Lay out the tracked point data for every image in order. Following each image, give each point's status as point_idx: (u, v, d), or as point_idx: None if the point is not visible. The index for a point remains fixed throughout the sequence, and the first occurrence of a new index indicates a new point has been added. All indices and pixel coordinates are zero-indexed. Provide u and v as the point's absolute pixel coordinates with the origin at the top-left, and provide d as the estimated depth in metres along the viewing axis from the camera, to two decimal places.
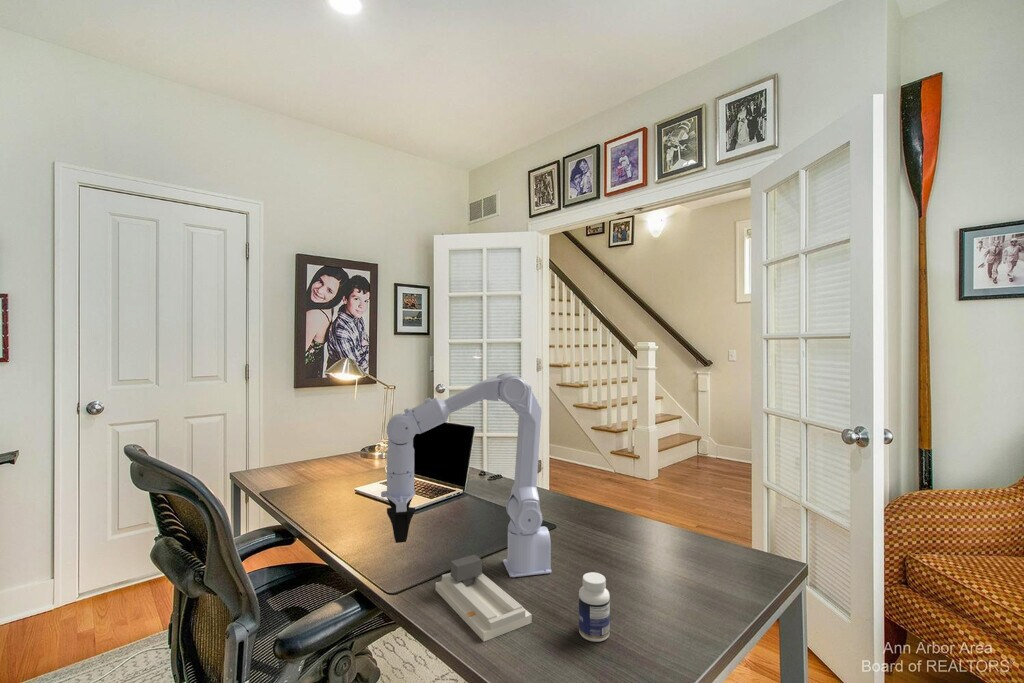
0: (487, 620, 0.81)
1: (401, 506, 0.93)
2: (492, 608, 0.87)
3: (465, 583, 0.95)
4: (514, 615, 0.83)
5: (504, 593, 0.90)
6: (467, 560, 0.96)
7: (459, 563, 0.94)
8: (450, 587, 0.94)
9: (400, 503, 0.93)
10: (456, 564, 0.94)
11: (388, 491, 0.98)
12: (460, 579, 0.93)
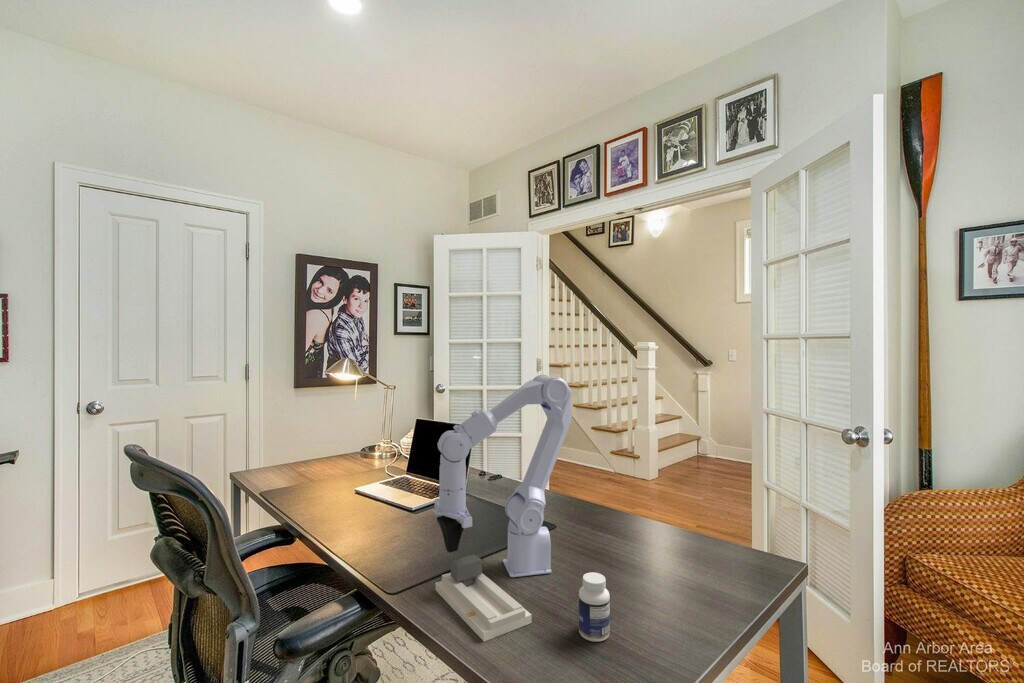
0: (487, 620, 0.81)
1: (468, 522, 0.95)
2: (492, 608, 0.87)
3: (465, 583, 0.95)
4: (514, 615, 0.83)
5: (504, 593, 0.90)
6: (467, 560, 0.96)
7: (459, 563, 0.94)
8: (450, 587, 0.94)
9: (467, 519, 0.95)
10: (456, 564, 0.94)
11: (444, 508, 0.99)
12: (460, 579, 0.93)
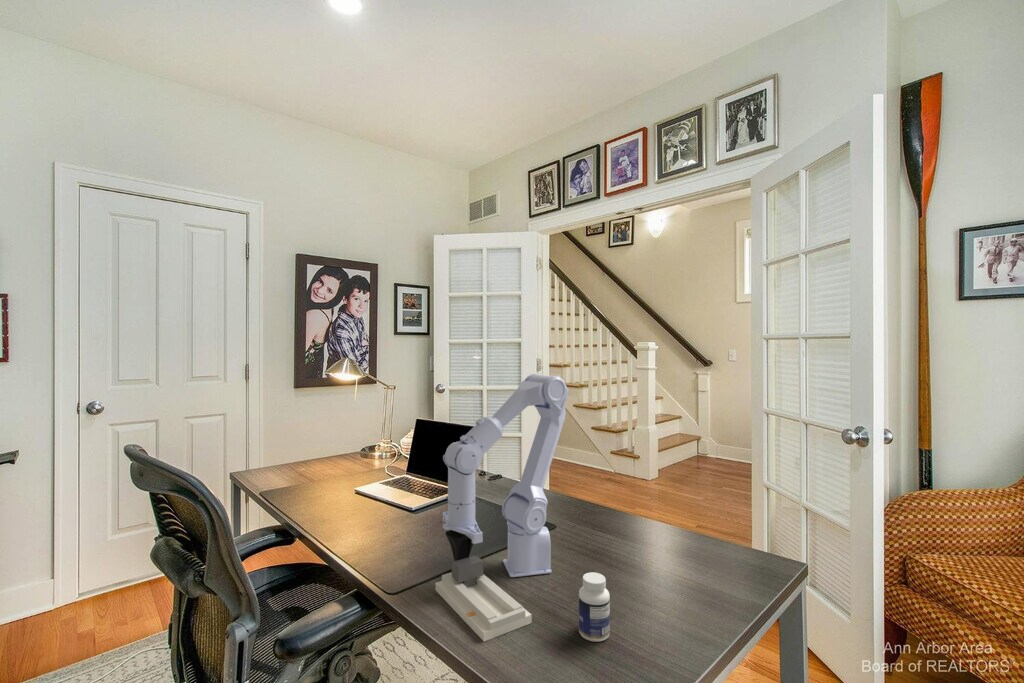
0: (487, 620, 0.81)
1: (478, 537, 0.92)
2: (492, 608, 0.87)
3: (466, 584, 0.94)
4: (514, 615, 0.83)
5: (504, 593, 0.90)
6: (468, 561, 0.95)
7: (460, 564, 0.94)
8: (450, 587, 0.94)
9: (477, 534, 0.92)
10: (457, 565, 0.94)
11: (453, 523, 0.95)
12: (461, 580, 0.93)
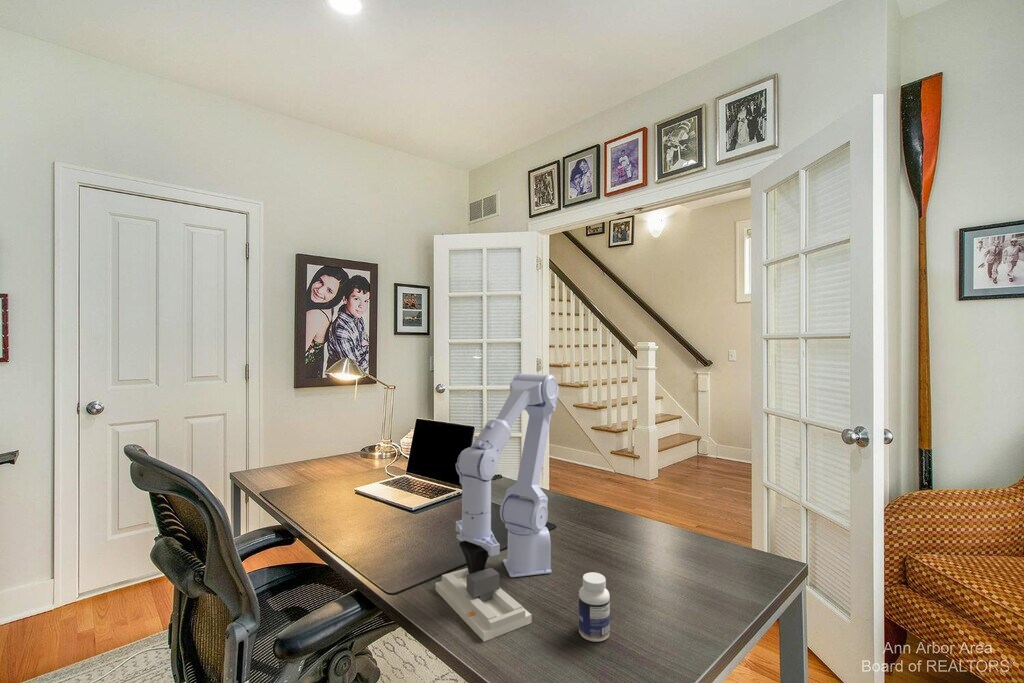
0: (487, 620, 0.81)
1: (495, 549, 0.86)
2: (492, 608, 0.87)
3: (482, 599, 0.89)
4: (514, 615, 0.83)
5: (504, 593, 0.90)
6: (484, 574, 0.90)
7: (476, 577, 0.89)
8: (450, 587, 0.94)
9: (494, 546, 0.86)
10: (472, 578, 0.88)
11: (468, 534, 0.90)
12: (477, 594, 0.88)
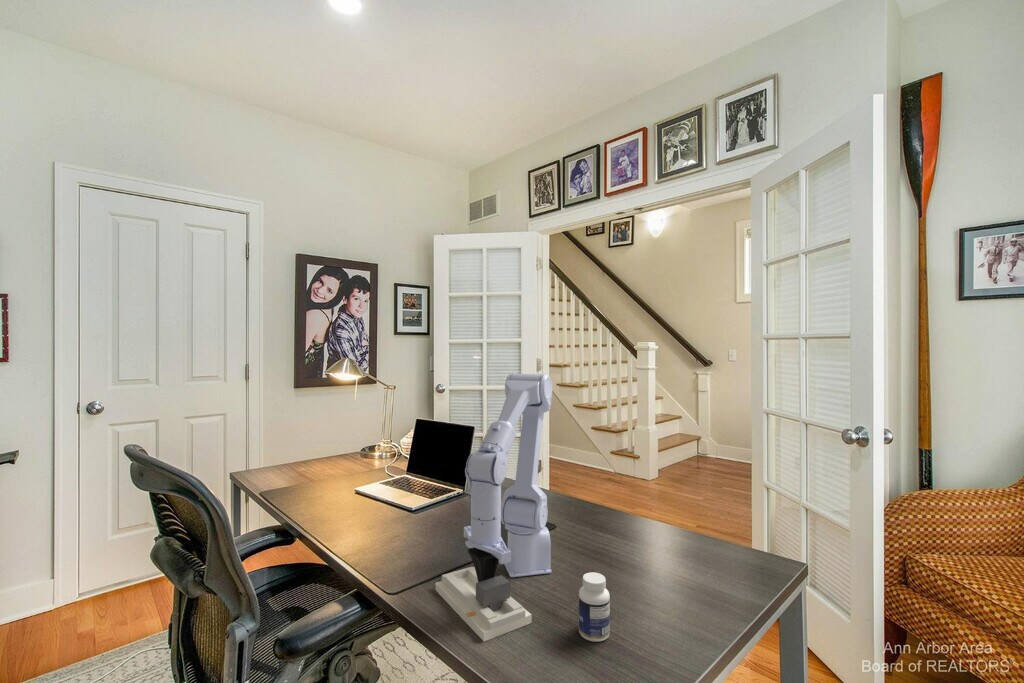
0: (487, 620, 0.81)
1: (506, 557, 0.83)
2: None
3: (492, 608, 0.86)
4: (514, 615, 0.83)
5: None
6: (494, 583, 0.87)
7: (485, 586, 0.86)
8: (450, 587, 0.94)
9: (505, 553, 0.83)
10: (482, 587, 0.85)
11: (477, 540, 0.87)
12: (487, 604, 0.85)
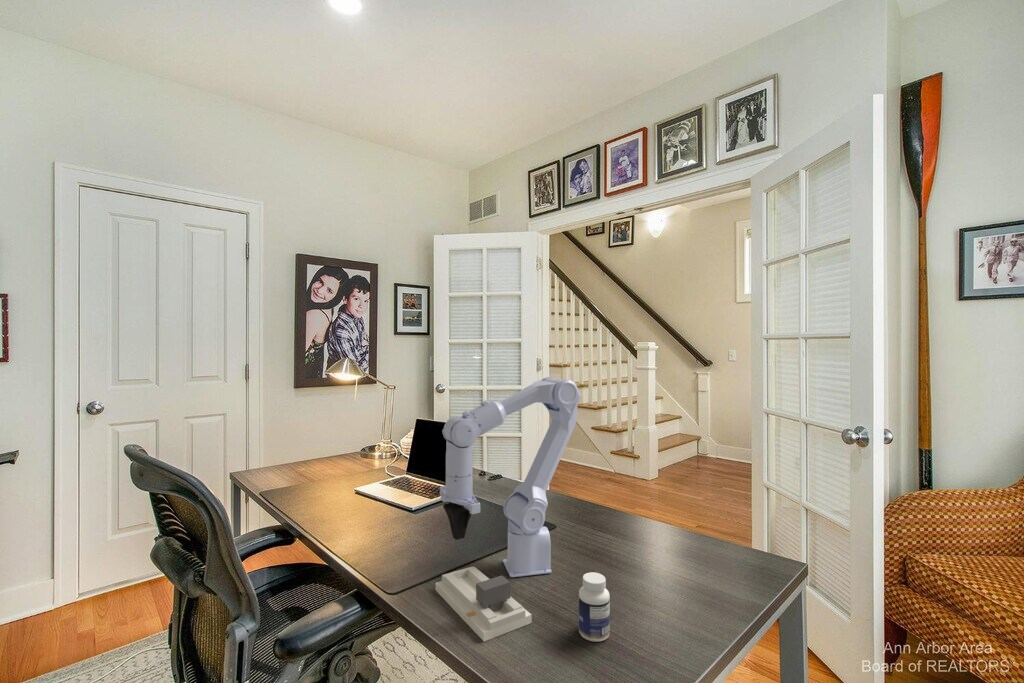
0: (487, 620, 0.81)
1: (476, 508, 0.94)
2: None
3: (492, 608, 0.86)
4: (514, 615, 0.83)
5: None
6: (494, 583, 0.87)
7: (486, 586, 0.85)
8: (450, 587, 0.94)
9: (475, 505, 0.94)
10: (482, 587, 0.85)
11: (451, 495, 0.97)
12: (487, 604, 0.84)
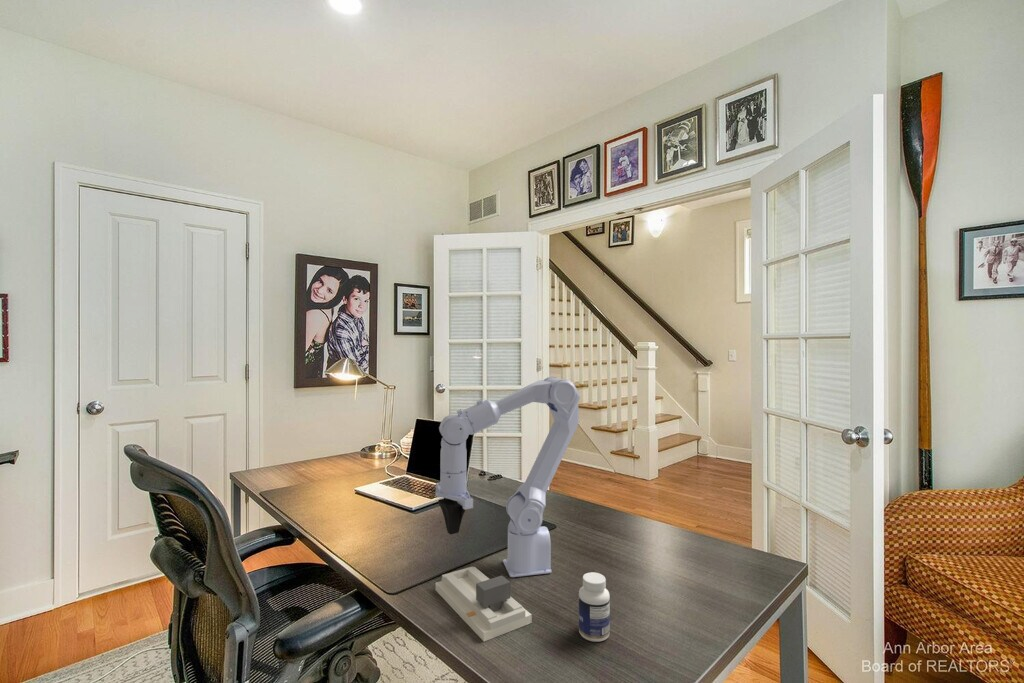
0: (487, 620, 0.81)
1: (469, 503, 0.97)
2: None
3: (492, 608, 0.86)
4: (514, 615, 0.83)
5: None
6: (494, 583, 0.87)
7: (486, 586, 0.85)
8: (450, 587, 0.94)
9: (468, 500, 0.96)
10: (482, 587, 0.85)
11: (445, 491, 1.00)
12: (487, 604, 0.84)
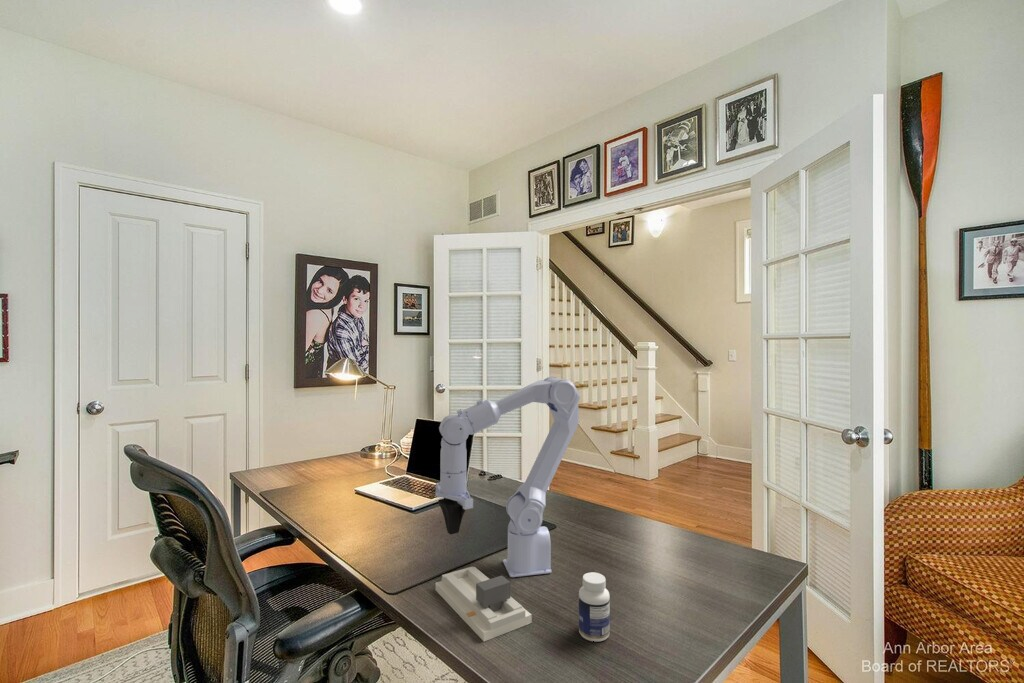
0: (487, 620, 0.81)
1: (469, 503, 0.97)
2: None
3: (492, 608, 0.86)
4: (514, 615, 0.83)
5: None
6: (494, 583, 0.87)
7: (486, 586, 0.85)
8: (450, 587, 0.94)
9: (468, 500, 0.96)
10: (482, 587, 0.85)
11: (445, 491, 1.00)
12: (487, 604, 0.84)
